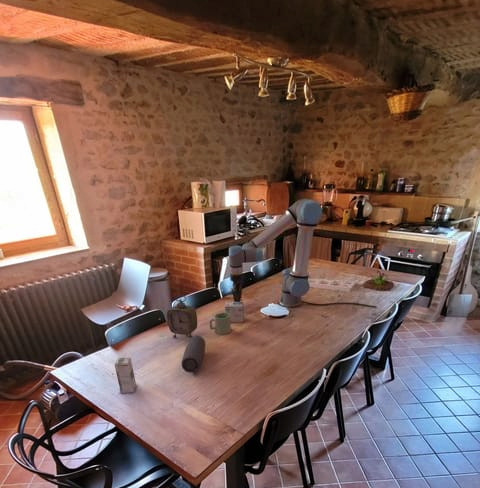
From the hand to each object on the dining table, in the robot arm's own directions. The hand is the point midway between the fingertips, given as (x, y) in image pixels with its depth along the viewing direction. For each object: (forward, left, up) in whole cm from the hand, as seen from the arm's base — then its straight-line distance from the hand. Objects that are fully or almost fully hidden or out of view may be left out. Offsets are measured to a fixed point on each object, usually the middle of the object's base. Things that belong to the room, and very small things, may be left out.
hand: (238, 311), depth 223 cm
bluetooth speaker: (0, +61, -4) cm, 61 cm away
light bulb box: (0, +6, -4) cm, 7 cm away
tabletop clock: (+19, +35, -4) cm, 40 cm away
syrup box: (+18, +90, -4) cm, 92 cm away
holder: (-41, -75, -4) cm, 85 cm away
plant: (-80, -79, -4) cm, 112 cm away
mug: (+2, +24, -4) cm, 24 cm away
